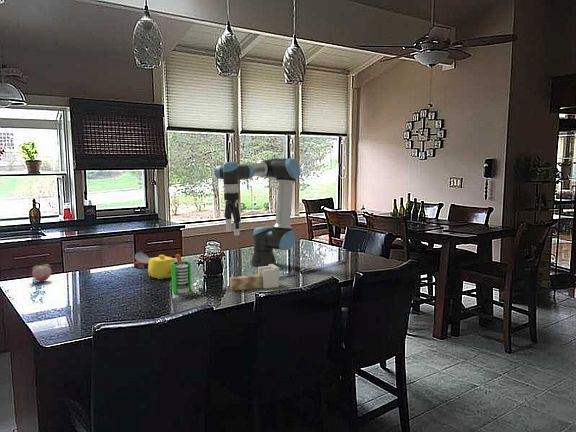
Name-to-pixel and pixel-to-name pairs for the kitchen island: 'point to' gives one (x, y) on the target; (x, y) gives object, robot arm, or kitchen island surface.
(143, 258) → the canned food
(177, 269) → the green-shelled ribbed roller
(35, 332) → the kitchen island surface
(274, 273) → the white stepped block
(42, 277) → the decorative fruit
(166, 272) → the teapot
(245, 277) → the rail
